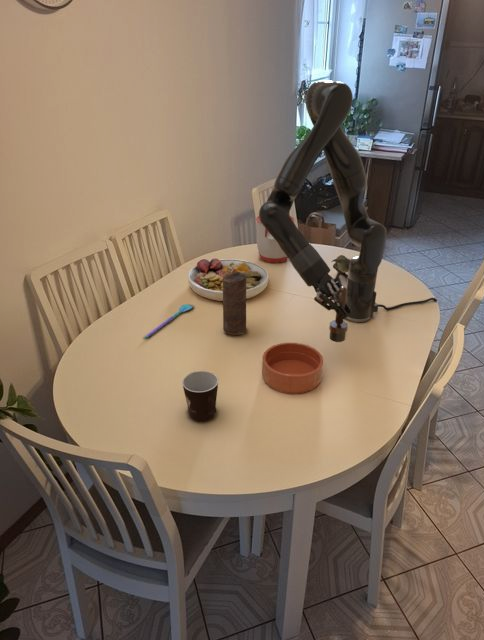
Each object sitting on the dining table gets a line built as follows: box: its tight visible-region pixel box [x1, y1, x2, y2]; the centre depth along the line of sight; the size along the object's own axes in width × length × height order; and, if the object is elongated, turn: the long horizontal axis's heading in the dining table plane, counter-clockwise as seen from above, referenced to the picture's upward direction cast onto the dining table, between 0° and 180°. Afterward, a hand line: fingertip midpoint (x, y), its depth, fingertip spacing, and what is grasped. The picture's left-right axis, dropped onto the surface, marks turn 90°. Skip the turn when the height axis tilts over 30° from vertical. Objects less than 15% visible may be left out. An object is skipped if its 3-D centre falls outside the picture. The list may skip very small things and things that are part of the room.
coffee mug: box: [181, 370, 219, 423], centre depth 119 cm, size 12×9×10 cm
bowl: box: [187, 257, 270, 302], centre depth 183 cm, size 30×30×8 cm
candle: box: [222, 272, 247, 336], centre depth 152 cm, size 8×7×20 cm
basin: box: [261, 342, 324, 395], centre depth 136 cm, size 17×17×6 cm
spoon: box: [145, 304, 194, 339], centre depth 161 cm, size 25×4×1 cm, turn 158°
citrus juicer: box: [255, 215, 295, 263], centre depth 203 cm, size 16×17×20 cm
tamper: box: [328, 286, 349, 343], centre depth 135 cm, size 5×5×16 cm
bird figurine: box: [331, 254, 351, 280], centre depth 190 cm, size 13×10×20 cm
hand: (347, 315), depth 134 cm, fingers closed on tamper
